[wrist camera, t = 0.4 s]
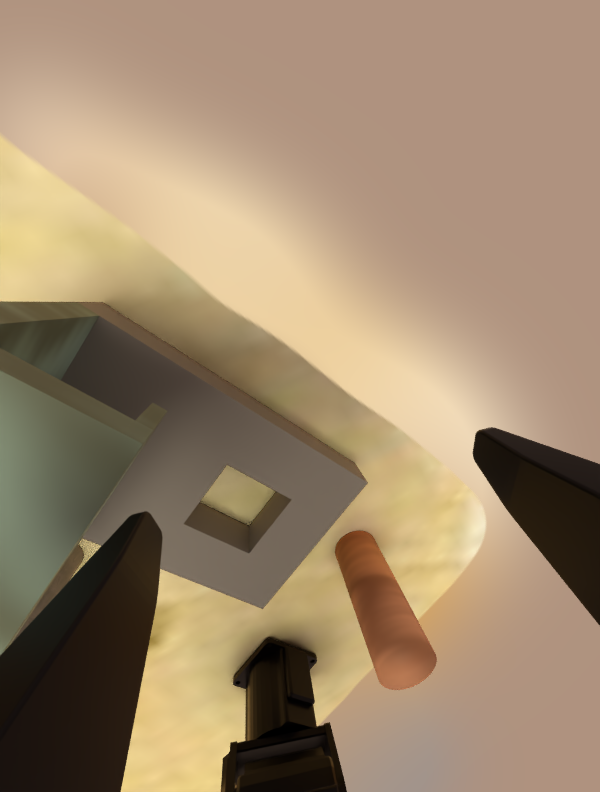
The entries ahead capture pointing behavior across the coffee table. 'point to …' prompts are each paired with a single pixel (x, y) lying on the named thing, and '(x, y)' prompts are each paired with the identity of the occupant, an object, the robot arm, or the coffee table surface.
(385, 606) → the peg
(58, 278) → the coffee table surface
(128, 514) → the socket deck
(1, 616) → the awning
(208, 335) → the coffee table surface
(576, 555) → the robot arm
